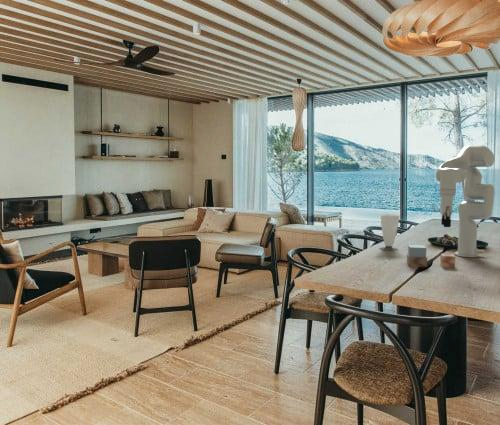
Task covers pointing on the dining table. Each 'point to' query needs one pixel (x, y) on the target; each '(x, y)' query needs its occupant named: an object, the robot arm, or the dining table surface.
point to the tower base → (417, 261)
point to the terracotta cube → (447, 260)
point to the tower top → (417, 251)
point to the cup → (389, 230)
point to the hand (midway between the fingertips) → (445, 225)
